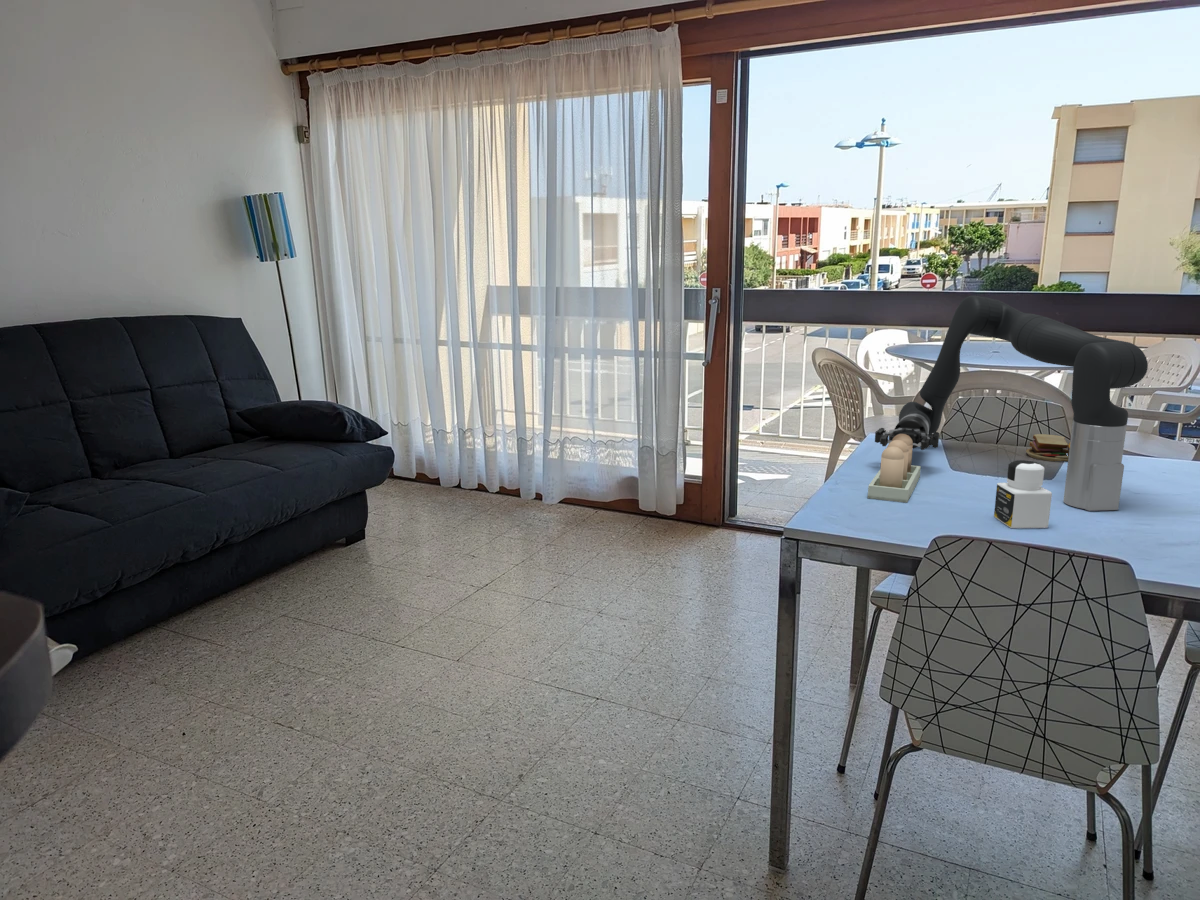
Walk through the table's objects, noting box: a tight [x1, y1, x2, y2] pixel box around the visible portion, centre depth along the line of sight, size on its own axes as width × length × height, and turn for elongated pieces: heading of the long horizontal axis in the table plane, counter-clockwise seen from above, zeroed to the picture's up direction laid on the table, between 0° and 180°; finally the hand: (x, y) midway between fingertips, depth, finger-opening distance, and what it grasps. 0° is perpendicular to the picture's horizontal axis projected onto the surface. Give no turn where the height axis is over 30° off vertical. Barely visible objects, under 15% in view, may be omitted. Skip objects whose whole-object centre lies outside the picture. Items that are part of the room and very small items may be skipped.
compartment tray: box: [867, 440, 922, 504], centre depth 176 cm, size 22×8×11 cm, turn 152°
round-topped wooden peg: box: [892, 434, 914, 473], centre depth 182 cm, size 5×5×10 cm
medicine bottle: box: [993, 459, 1053, 529], centre depth 151 cm, size 7×7×12 cm
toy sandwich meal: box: [1025, 433, 1070, 462], centre depth 202 cm, size 12×14×5 cm
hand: (903, 443), depth 184 cm, fingers open, 8 cm apart
